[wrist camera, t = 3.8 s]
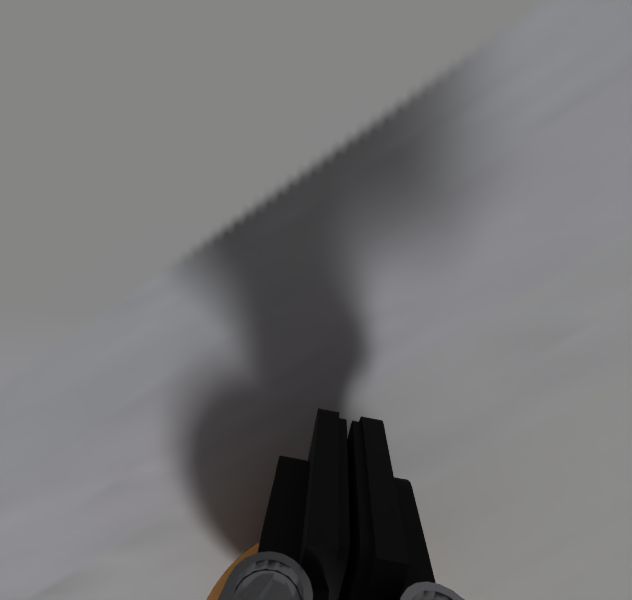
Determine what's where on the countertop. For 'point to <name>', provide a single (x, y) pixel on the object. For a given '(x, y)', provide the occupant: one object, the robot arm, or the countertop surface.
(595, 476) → the countertop surface
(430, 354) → the countertop surface
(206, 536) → the countertop surface
